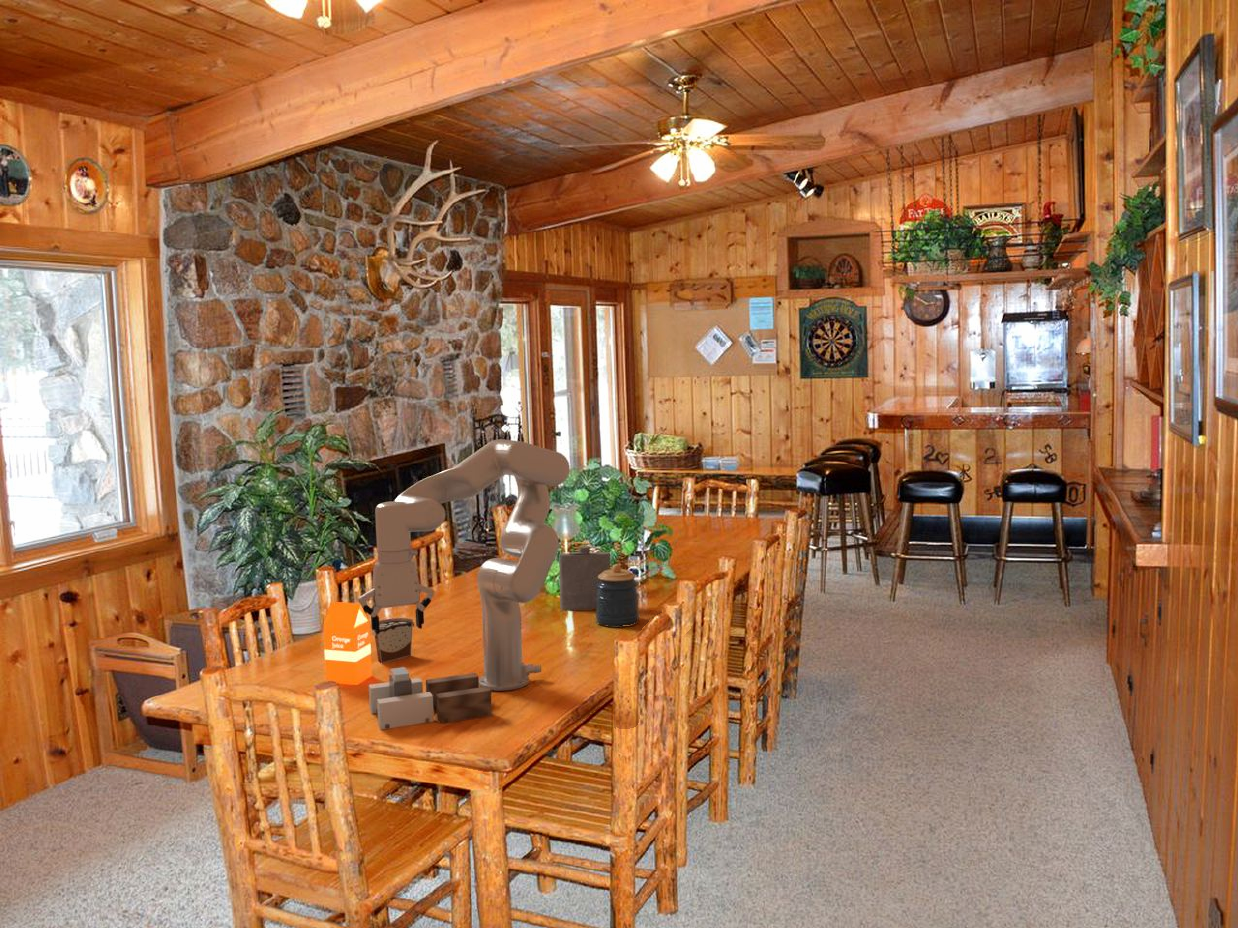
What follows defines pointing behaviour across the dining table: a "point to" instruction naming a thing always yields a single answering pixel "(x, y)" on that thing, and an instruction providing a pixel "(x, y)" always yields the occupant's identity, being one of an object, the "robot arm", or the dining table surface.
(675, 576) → the dining table surface
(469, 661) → the dining table surface
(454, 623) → the dining table surface
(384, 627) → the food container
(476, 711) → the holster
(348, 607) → the orange juice
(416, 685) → the dock
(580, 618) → the dining table surface
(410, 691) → the plug
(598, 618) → the canister
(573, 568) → the hip flask
